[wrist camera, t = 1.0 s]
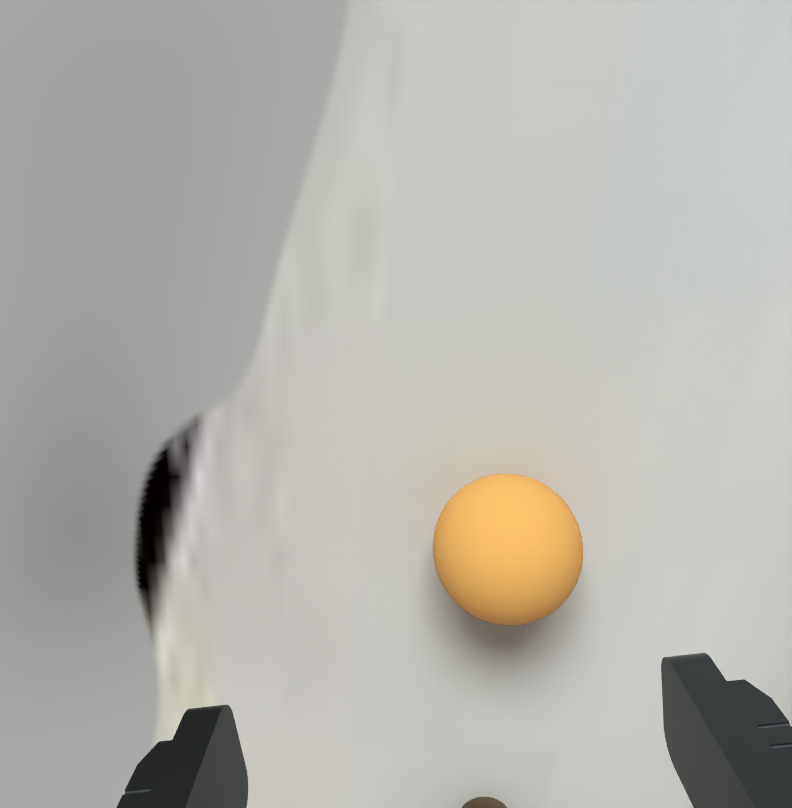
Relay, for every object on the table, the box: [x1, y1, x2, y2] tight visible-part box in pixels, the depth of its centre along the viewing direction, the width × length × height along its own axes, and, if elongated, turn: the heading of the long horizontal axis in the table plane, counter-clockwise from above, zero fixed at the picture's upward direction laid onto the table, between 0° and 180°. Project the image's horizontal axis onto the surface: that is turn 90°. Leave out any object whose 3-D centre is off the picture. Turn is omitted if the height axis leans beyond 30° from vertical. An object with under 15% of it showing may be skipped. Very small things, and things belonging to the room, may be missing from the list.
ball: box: [433, 474, 583, 625], centre depth 28 cm, size 6×6×6 cm
